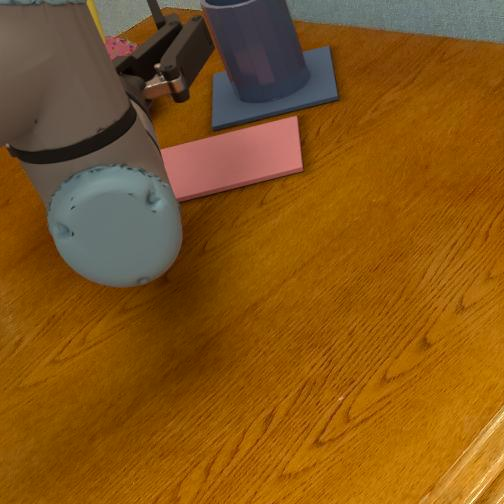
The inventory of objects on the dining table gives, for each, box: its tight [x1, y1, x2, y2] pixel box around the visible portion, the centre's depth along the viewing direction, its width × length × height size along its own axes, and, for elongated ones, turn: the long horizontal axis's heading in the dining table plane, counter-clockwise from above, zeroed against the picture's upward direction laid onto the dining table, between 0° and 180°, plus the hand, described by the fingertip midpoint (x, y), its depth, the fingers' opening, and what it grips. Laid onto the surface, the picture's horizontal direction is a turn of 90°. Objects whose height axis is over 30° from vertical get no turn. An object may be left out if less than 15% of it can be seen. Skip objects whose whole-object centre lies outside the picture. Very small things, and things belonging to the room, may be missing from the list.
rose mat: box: [160, 115, 304, 203], centre depth 88 cm, size 14×10×1 cm
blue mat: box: [211, 45, 340, 131], centre depth 97 cm, size 12×12×1 cm
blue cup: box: [199, 0, 310, 103], centre depth 94 cm, size 7×7×9 cm
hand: (78, 38), depth 84 cm, fingers open, 13 cm apart
